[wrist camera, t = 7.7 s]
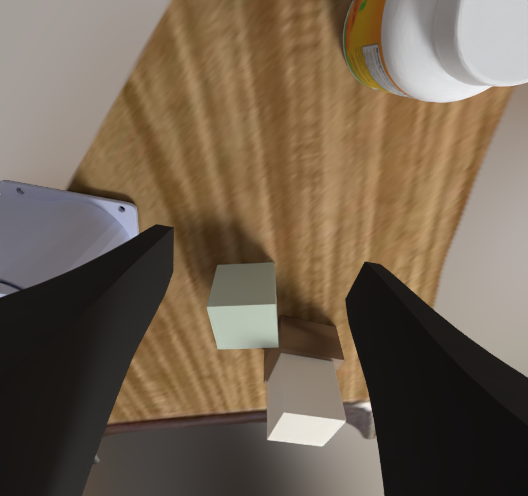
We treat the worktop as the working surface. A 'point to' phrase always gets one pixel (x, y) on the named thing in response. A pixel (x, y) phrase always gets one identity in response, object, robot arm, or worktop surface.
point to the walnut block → (304, 343)
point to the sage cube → (244, 306)
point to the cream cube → (303, 401)
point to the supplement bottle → (437, 46)
